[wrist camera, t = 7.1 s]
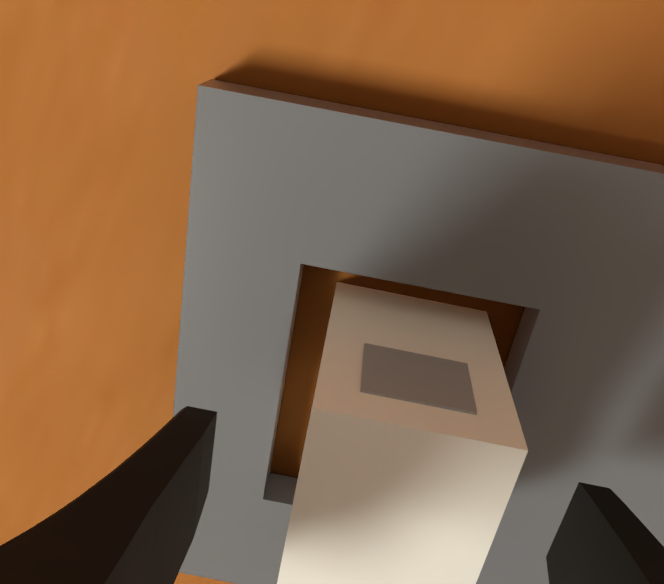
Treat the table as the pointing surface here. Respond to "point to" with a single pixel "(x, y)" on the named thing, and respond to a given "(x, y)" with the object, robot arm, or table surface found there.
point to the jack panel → (429, 272)
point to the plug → (403, 446)
